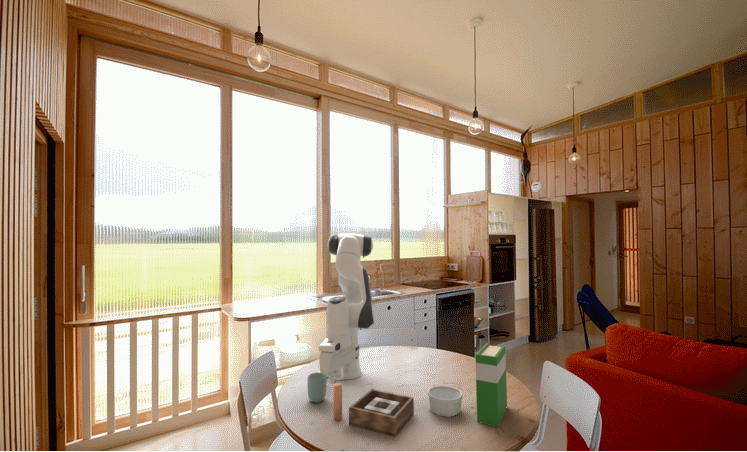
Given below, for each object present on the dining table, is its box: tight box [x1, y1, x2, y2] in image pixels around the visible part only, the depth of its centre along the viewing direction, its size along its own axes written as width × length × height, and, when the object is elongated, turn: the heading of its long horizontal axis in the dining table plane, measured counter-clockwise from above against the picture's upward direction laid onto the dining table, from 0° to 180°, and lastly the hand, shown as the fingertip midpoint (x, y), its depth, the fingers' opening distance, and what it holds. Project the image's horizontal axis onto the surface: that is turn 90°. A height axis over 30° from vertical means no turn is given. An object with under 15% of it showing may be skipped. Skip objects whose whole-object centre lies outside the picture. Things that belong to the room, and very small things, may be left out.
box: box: [348, 388, 415, 438], centre depth 126 cm, size 18×18×6 cm
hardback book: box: [475, 342, 508, 428], centre depth 130 cm, size 18×7×24 cm, turn 149°
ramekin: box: [427, 385, 463, 418], centre depth 132 cm, size 13×13×7 cm
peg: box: [332, 383, 343, 422], centre depth 126 cm, size 3×3×12 cm
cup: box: [307, 372, 328, 403], centre depth 141 cm, size 8×8×10 cm
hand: (339, 379), depth 127 cm, fingers open, 8 cm apart
